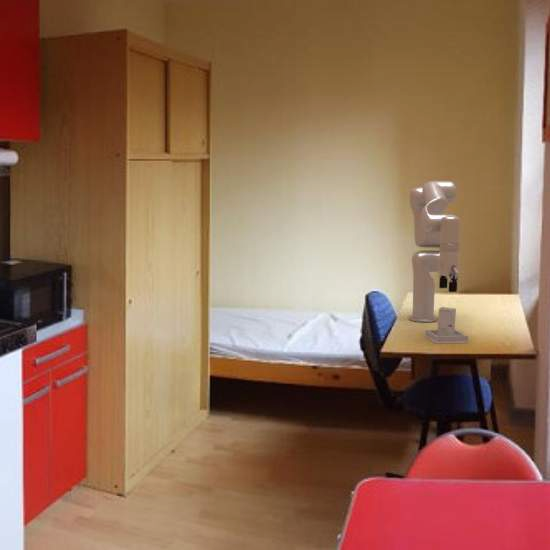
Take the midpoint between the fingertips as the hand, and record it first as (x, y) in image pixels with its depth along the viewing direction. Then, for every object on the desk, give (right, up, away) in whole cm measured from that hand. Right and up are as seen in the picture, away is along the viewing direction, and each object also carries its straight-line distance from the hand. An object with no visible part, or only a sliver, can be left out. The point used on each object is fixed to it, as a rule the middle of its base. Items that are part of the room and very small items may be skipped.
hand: (447, 289), depth 314 cm
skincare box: (0, -20, +3) cm, 20 cm away
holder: (0, -20, +3) cm, 20 cm away
